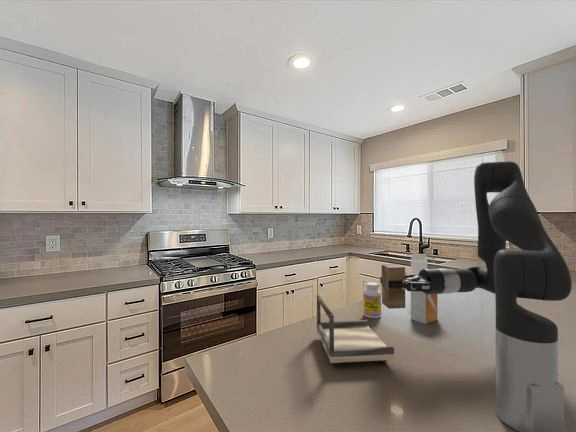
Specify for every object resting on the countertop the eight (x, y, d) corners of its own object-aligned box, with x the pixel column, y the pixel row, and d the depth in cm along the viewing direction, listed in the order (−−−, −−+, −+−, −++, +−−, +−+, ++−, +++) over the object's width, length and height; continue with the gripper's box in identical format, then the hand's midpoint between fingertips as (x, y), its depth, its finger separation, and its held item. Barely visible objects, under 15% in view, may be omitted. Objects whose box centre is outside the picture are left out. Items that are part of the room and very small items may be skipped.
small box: (426, 324, 102) (425, 289, 102) (410, 319, 108) (410, 285, 108) (438, 320, 107) (437, 285, 107) (422, 315, 112) (422, 282, 112)
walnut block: (405, 308, 82) (405, 267, 82) (388, 308, 82) (388, 267, 82) (397, 302, 87) (397, 264, 87) (381, 303, 87) (381, 264, 87)
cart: (394, 367, 74) (393, 313, 74) (330, 370, 73) (329, 316, 73) (366, 334, 94) (366, 292, 94) (316, 337, 93) (315, 294, 93)
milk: (411, 299, 133) (410, 252, 133) (425, 300, 131) (424, 253, 131) (413, 303, 127) (412, 254, 127) (427, 304, 125) (427, 254, 125)
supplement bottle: (361, 317, 110) (361, 284, 110) (365, 311, 116) (365, 280, 116) (379, 320, 107) (379, 286, 107) (382, 314, 113) (382, 282, 113)
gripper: (425, 264, 93) (375, 265, 92) (454, 273, 78) (394, 275, 77) (425, 287, 93) (375, 288, 92) (454, 300, 78) (395, 302, 77)
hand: (384, 282), depth 84 cm, fingers closed on walnut block, 5 cm apart
